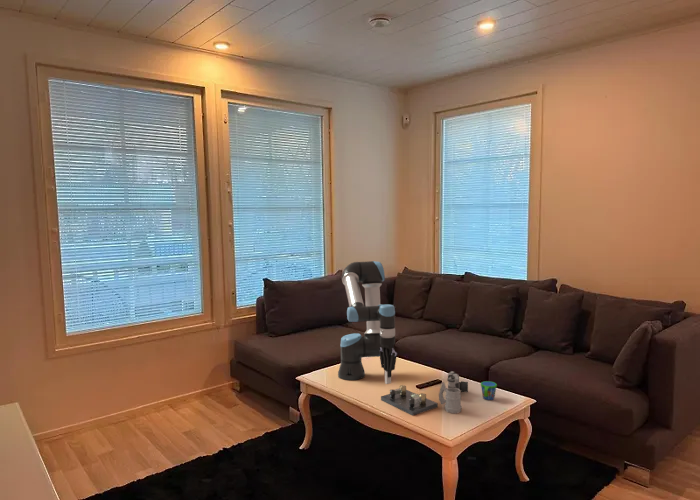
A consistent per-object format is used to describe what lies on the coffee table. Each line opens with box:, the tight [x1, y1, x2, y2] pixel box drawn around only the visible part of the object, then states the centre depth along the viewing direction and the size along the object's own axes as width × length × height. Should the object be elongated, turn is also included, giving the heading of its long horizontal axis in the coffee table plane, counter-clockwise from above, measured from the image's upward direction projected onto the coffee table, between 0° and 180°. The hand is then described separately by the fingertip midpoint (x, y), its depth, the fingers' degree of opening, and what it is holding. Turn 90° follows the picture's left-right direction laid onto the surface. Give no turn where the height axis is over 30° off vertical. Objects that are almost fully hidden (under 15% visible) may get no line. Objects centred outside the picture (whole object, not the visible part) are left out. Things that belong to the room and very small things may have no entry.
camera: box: [446, 370, 469, 393], centre depth 254 cm, size 16×10×10 cm, turn 167°
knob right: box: [409, 393, 427, 407], centre depth 235 cm, size 3×10×4 cm, turn 125°
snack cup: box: [480, 380, 498, 401], centre depth 247 cm, size 11×8×7 cm
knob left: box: [389, 384, 407, 398], centre depth 246 cm, size 3×10×4 cm, turn 125°
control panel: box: [380, 389, 439, 416], centre depth 242 cm, size 23×16×4 cm
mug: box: [438, 381, 463, 414], centre depth 234 cm, size 8×12×12 cm, turn 43°
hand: (388, 383), depth 248 cm, fingers closed
